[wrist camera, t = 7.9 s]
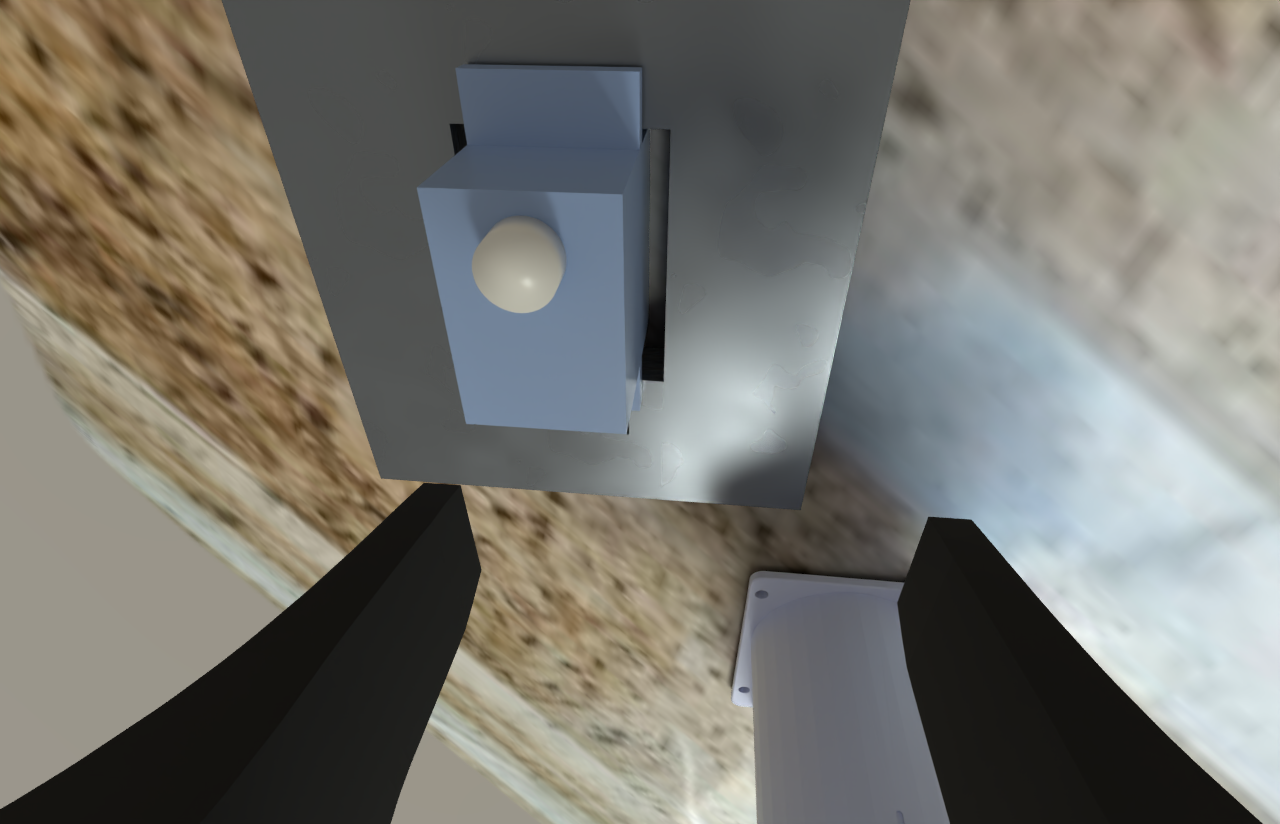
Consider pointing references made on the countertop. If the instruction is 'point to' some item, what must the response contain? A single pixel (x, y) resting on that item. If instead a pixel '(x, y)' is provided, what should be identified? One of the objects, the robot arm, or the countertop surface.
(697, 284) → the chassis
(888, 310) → the countertop surface
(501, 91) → the servo
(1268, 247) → the countertop surface
